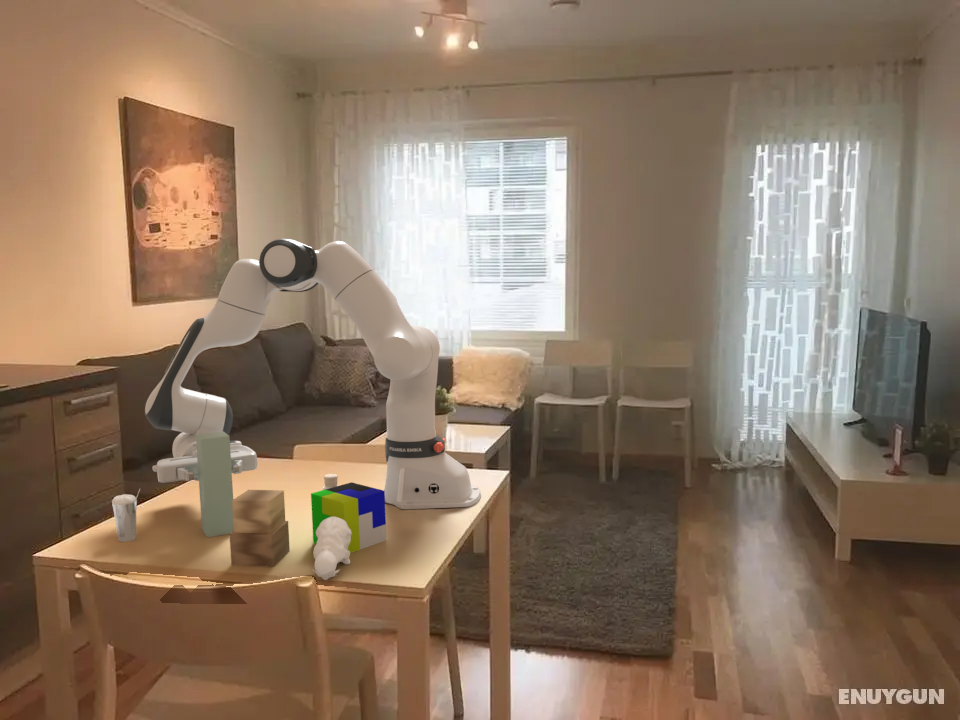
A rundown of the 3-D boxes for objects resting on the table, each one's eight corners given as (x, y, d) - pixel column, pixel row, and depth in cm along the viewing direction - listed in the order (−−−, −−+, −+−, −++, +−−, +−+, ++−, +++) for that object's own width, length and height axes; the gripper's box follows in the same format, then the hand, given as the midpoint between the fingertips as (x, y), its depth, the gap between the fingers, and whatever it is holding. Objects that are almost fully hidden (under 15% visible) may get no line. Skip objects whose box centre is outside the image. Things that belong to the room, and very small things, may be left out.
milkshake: (145, 539, 165) (141, 490, 164) (116, 544, 162) (112, 495, 161) (142, 533, 169) (138, 485, 168) (113, 538, 166) (109, 489, 165)
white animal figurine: (351, 512, 151) (340, 540, 139) (354, 555, 153) (343, 587, 141) (317, 513, 151) (302, 541, 139) (320, 556, 153) (306, 588, 141)
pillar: (229, 525, 173) (223, 431, 171) (235, 532, 168) (229, 436, 166) (202, 529, 170) (195, 434, 168) (207, 537, 166) (201, 439, 163)
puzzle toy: (386, 540, 162) (384, 490, 161) (346, 554, 154) (343, 502, 153) (353, 530, 168) (351, 482, 167) (313, 543, 161) (311, 493, 160)
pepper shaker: (328, 522, 174) (325, 471, 172) (351, 524, 172) (349, 472, 170) (314, 530, 169) (312, 477, 167) (338, 532, 167) (335, 479, 165)
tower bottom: (289, 551, 157) (288, 520, 156) (273, 567, 149) (271, 535, 148) (249, 550, 158) (247, 520, 157) (231, 565, 150) (229, 533, 149)
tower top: (285, 521, 156) (283, 490, 155) (270, 533, 149) (268, 501, 148) (250, 520, 157) (248, 489, 156) (233, 532, 150) (231, 500, 149)
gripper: (149, 451, 175) (159, 465, 163) (247, 439, 185) (262, 451, 173) (151, 480, 176) (161, 496, 164) (248, 467, 186) (264, 480, 174)
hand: (214, 473), depth 169 cm, fingers open, 8 cm apart
